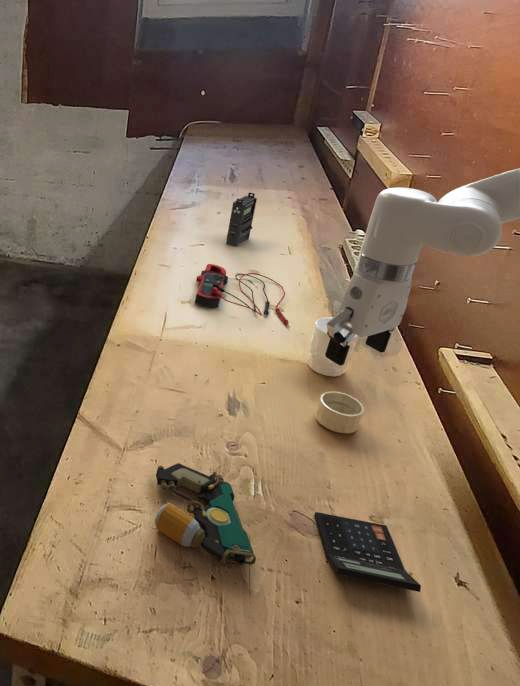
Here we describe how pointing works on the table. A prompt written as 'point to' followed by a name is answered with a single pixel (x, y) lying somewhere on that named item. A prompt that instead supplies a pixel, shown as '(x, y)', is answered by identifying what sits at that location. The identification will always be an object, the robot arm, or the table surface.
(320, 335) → the white cup
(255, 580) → the table surface
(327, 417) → the bowl
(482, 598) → the table surface
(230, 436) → the table surface
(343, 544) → the calculator
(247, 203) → the geiger counter
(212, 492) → the spray gun
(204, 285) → the digital clamp meter
